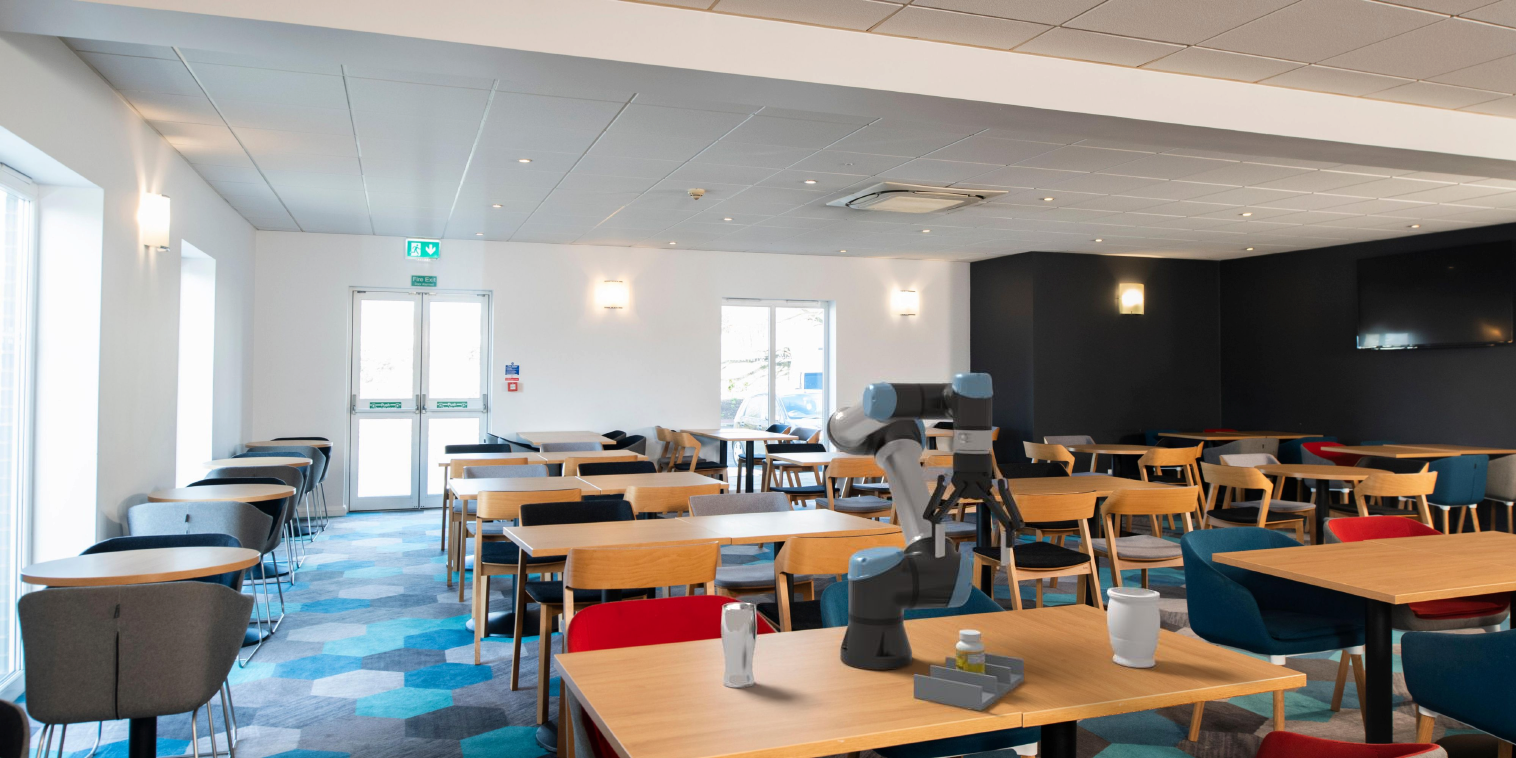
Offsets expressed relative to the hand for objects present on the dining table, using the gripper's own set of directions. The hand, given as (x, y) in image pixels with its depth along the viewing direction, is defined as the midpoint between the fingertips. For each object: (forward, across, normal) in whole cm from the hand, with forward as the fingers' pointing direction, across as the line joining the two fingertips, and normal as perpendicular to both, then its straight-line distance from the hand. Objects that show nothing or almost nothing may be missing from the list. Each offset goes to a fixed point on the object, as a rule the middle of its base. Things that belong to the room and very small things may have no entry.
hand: (972, 560), depth 178 cm
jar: (+24, +21, +34) cm, 47 cm away
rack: (+24, +1, -4) cm, 24 cm away
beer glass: (+24, -36, -28) cm, 51 cm away
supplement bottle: (+23, +1, -4) cm, 23 cm away
